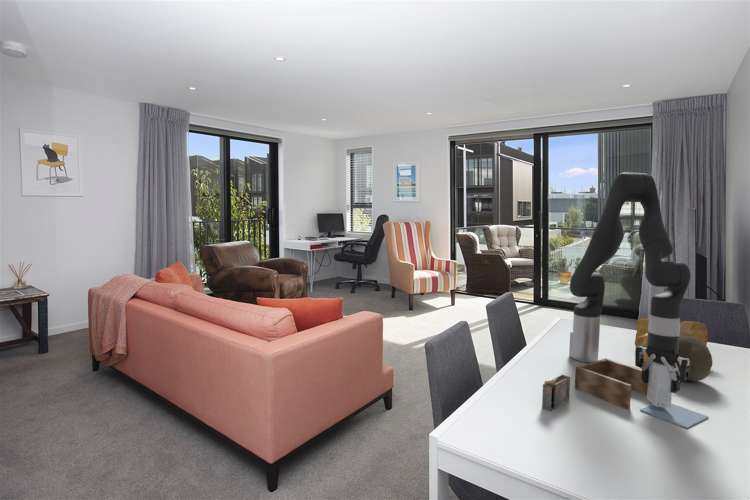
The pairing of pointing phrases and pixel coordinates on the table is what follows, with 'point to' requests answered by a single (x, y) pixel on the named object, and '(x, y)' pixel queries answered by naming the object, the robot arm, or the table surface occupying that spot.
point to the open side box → (610, 381)
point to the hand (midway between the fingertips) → (659, 387)
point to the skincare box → (659, 385)
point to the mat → (675, 415)
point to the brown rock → (695, 357)
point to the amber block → (686, 329)
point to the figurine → (644, 345)
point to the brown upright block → (556, 392)
